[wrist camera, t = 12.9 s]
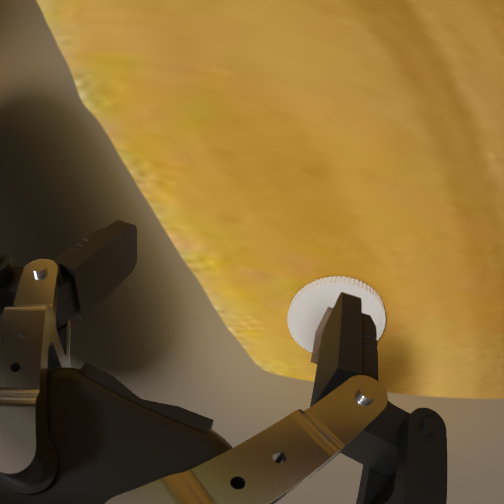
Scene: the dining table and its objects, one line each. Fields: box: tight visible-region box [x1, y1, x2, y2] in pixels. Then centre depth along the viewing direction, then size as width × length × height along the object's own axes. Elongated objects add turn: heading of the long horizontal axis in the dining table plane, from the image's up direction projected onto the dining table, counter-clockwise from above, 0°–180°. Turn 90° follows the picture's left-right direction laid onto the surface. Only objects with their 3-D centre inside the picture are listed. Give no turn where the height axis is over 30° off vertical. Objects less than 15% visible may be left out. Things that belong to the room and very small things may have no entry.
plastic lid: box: [287, 276, 386, 353], centre depth 44 cm, size 14×14×2 cm
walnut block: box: [311, 307, 333, 364], centre depth 40 cm, size 5×5×6 cm
